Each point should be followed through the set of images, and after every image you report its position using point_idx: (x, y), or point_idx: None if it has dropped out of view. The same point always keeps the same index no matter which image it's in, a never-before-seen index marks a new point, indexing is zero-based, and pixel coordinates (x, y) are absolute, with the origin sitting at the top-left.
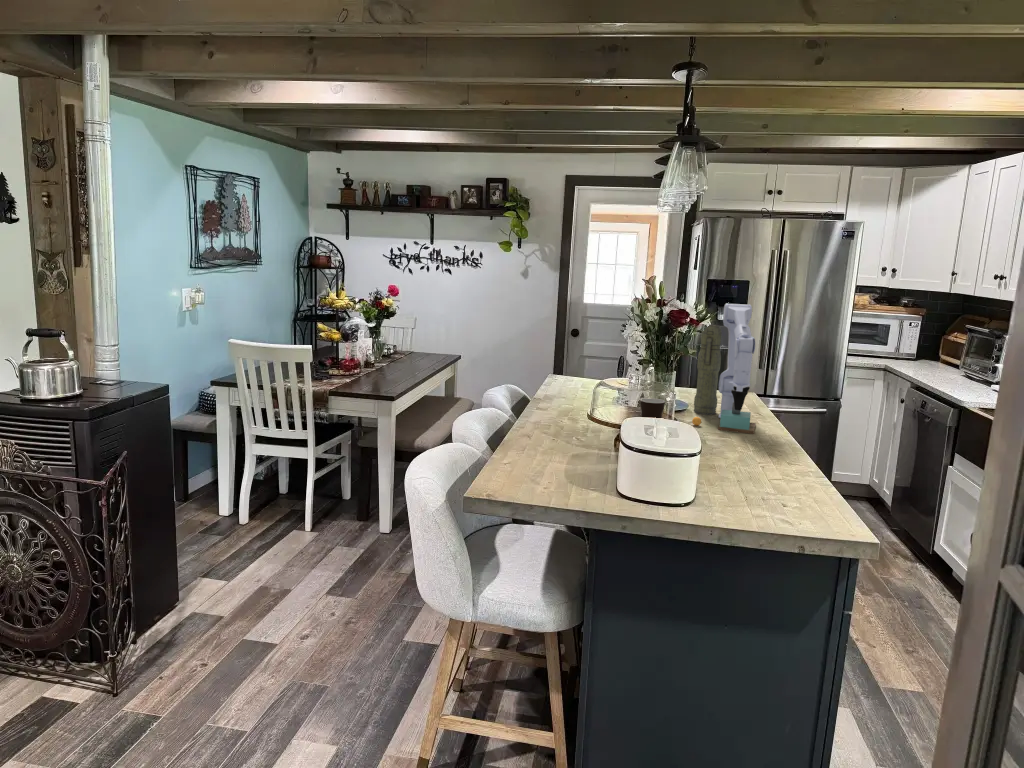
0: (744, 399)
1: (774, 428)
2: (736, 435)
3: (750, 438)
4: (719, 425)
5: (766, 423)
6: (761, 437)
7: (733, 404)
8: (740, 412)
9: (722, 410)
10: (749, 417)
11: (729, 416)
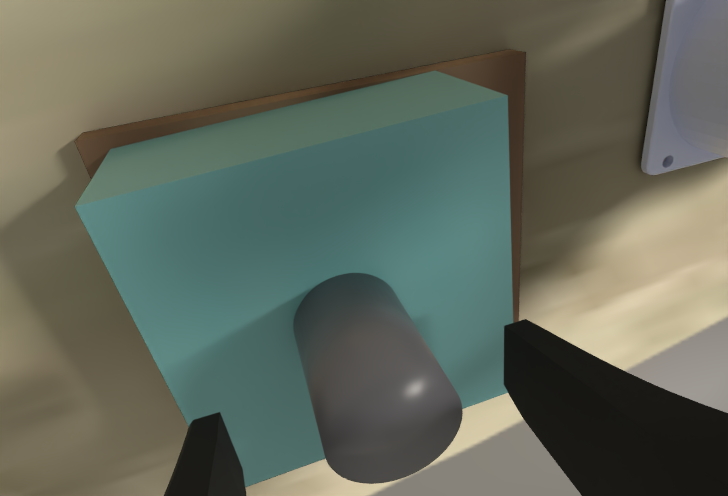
0: (569, 477)
1: (492, 424)
2: (5, 351)
3: (10, 459)
4: (184, 123)
5: (616, 342)
6: (135, 485)
7: (333, 389)
8: (448, 330)
9: (442, 117)
10: None
11: (133, 312)
